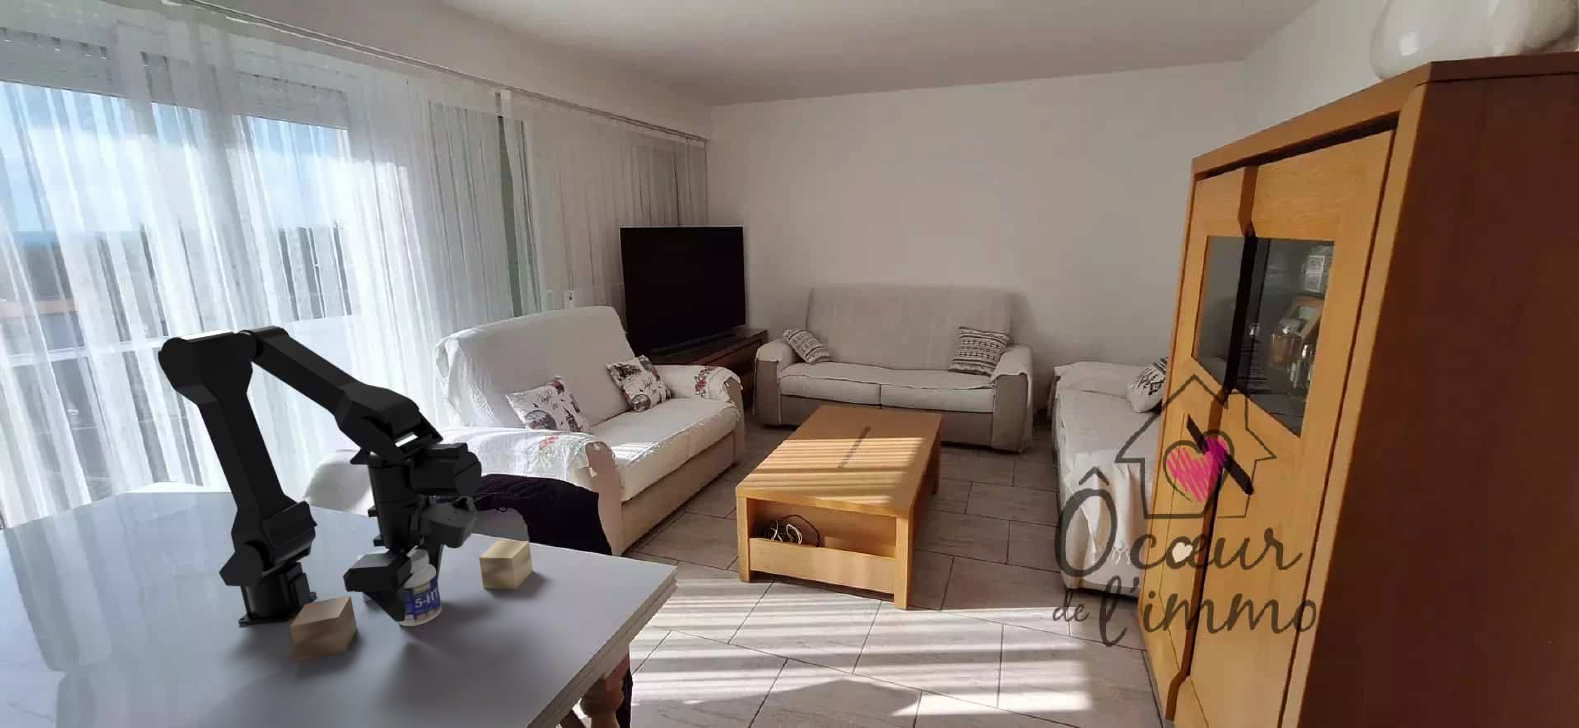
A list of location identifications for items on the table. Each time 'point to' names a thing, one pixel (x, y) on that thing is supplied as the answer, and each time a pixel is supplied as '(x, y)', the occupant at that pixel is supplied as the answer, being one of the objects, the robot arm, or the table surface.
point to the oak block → (506, 564)
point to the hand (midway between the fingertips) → (417, 600)
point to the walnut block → (324, 628)
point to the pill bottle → (421, 591)
